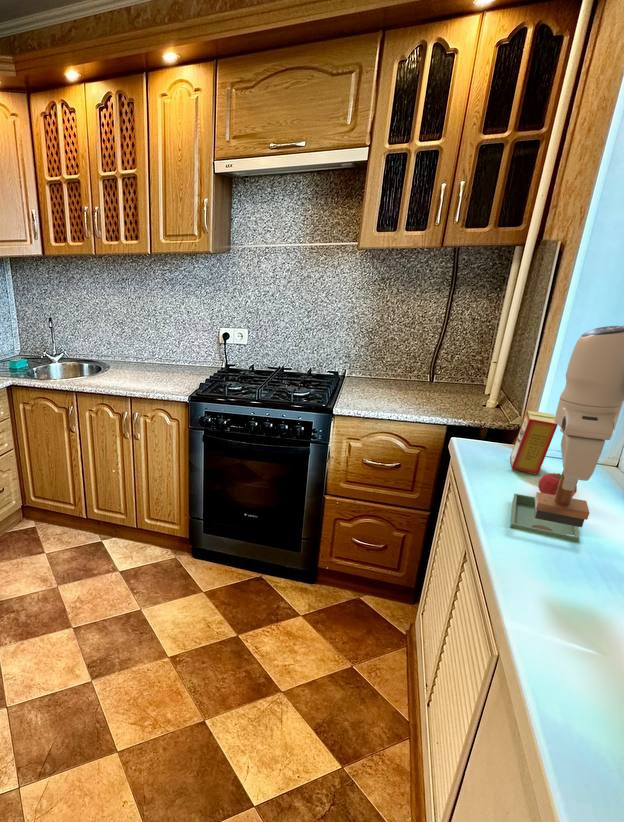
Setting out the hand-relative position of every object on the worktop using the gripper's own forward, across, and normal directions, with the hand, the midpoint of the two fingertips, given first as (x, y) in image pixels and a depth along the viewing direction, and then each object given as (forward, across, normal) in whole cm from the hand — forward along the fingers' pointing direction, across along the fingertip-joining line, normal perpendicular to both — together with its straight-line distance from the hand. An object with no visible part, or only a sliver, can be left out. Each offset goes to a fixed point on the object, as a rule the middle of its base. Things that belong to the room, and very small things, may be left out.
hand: (567, 485), depth 101 cm
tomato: (+19, -40, +2) cm, 44 cm away
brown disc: (+18, -15, -1) cm, 24 cm away
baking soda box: (+18, -61, -5) cm, 64 cm away
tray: (+19, -22, 0) cm, 29 cm away
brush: (+7, -1, 0) cm, 7 cm away
